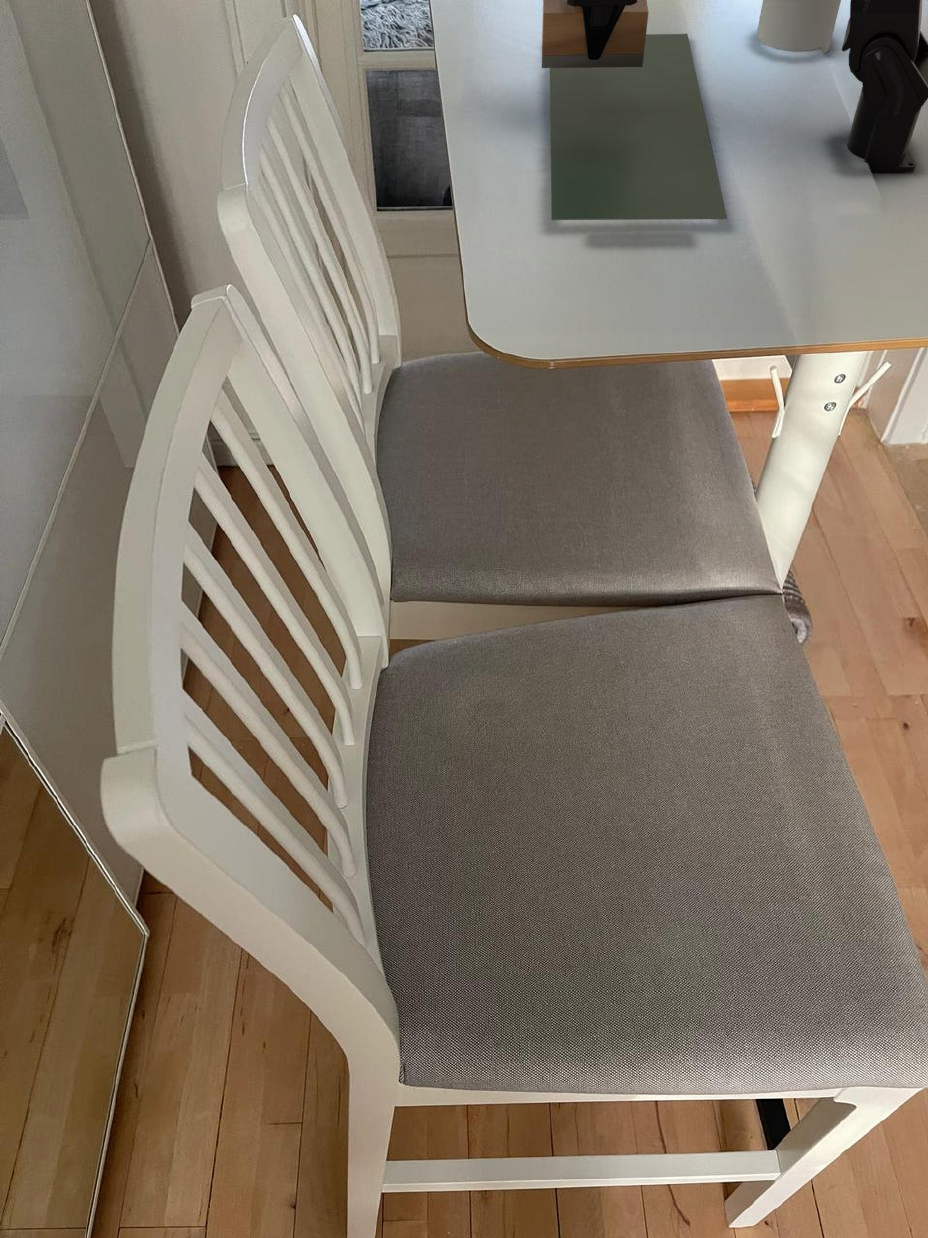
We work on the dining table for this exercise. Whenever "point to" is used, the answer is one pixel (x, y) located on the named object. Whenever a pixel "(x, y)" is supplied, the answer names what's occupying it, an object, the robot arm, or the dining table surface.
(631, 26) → the eraser
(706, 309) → the dining table surface
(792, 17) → the cup
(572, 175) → the chalkboard
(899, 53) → the robot arm
